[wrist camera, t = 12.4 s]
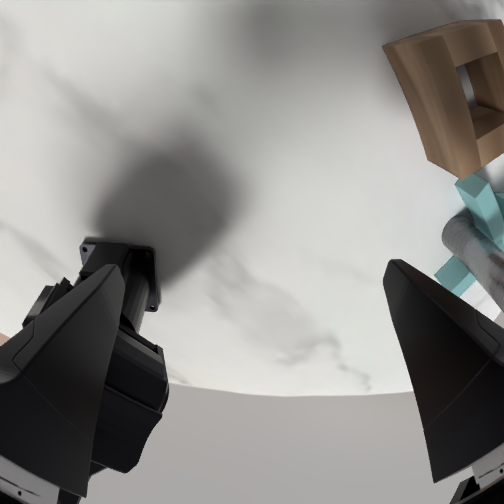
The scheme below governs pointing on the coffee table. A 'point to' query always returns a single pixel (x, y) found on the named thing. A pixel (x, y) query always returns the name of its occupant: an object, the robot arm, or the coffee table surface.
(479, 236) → the axle
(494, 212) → the teal y-shaped block
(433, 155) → the brown square frame
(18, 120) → the coffee table surface
